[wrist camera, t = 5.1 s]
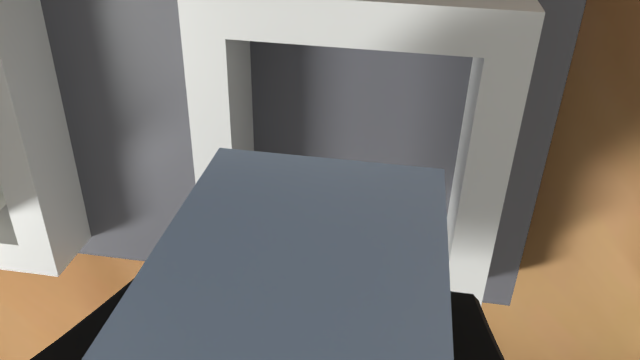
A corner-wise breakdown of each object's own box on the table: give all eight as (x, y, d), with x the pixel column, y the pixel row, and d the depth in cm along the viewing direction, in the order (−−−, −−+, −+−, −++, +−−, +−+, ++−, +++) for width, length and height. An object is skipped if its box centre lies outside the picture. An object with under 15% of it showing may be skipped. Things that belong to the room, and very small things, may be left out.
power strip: (504, 273, 19) (518, 355, 16) (-159, 197, 22) (-250, 254, 19) (581, -56, 14) (623, -24, 11) (-296, -99, 17) (-451, -83, 14)
